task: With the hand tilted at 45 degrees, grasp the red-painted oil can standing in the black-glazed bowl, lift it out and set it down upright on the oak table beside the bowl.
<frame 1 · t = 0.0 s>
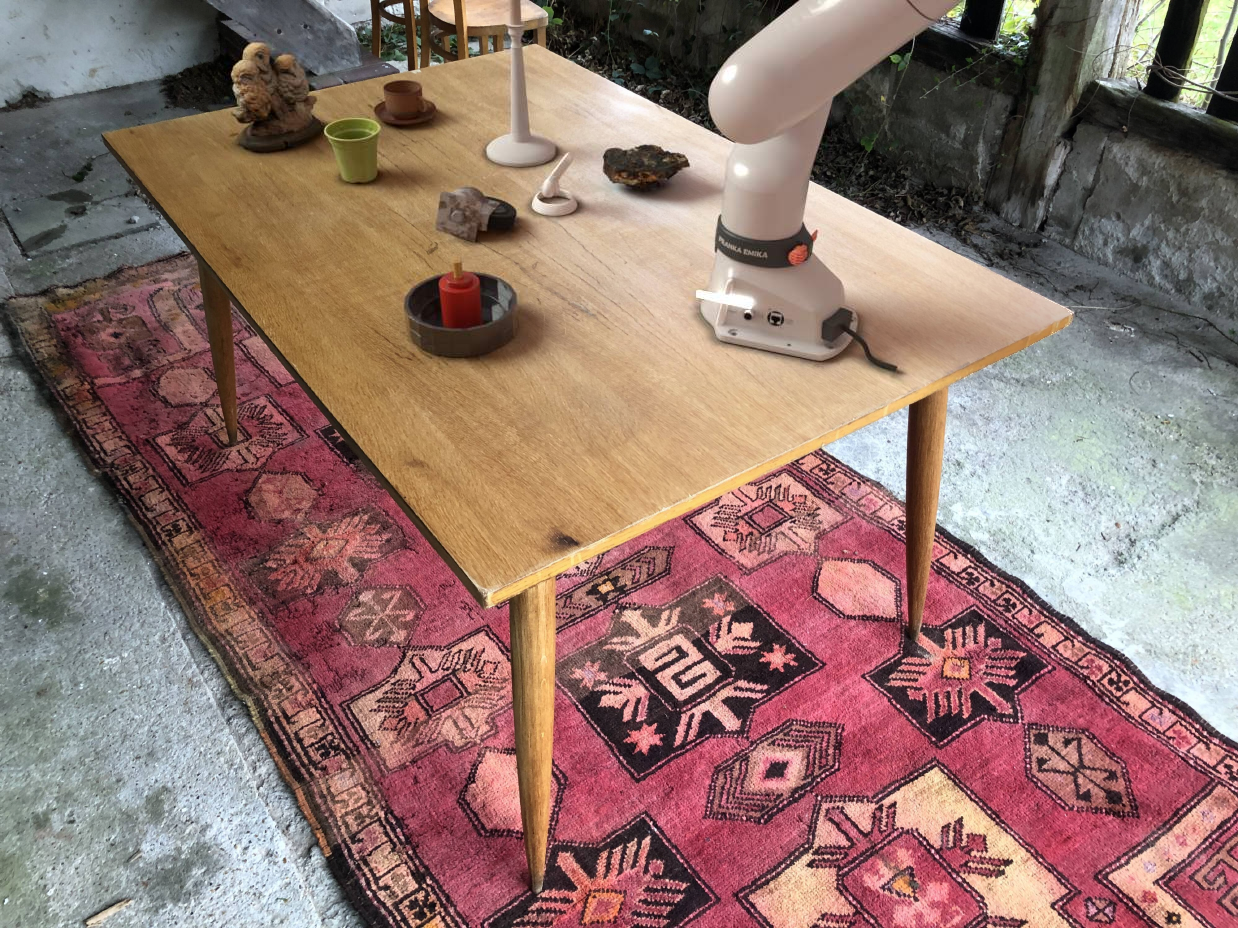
candlestick: (521, 153, 182), on the table
plant pot: (360, 177, 173), on the table
caster wheel: (480, 228, 159), on the table
hook: (554, 206, 166), on the table
owl figurine: (280, 138, 185), on the table
bowl: (463, 330, 136), on the table
fossil rock: (646, 184, 173), on the table
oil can: (463, 326, 136), point 1 cm above the table, touching bowl
cup and saucer: (406, 119, 193), on the table
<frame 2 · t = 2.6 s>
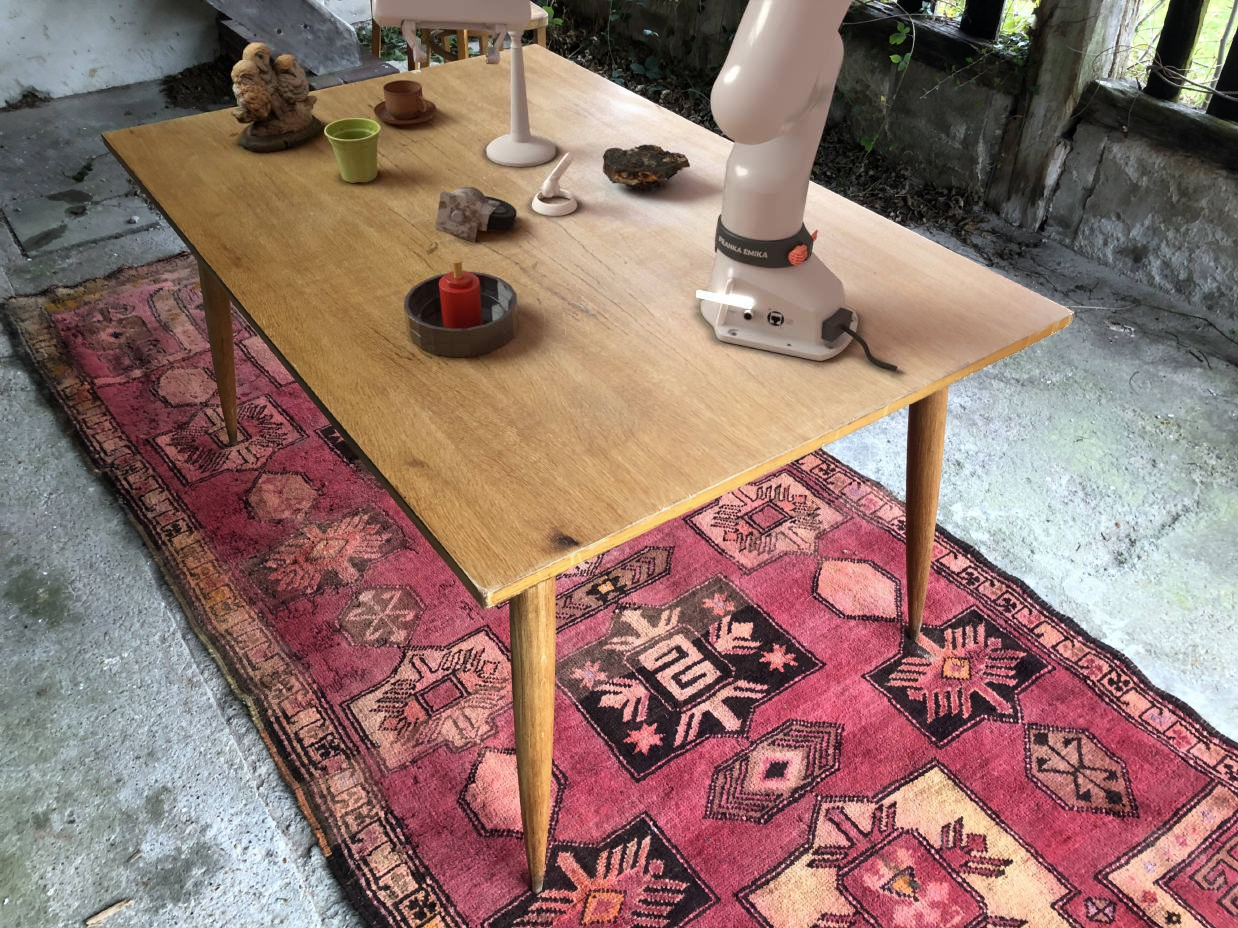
hand: (457, 62, 126), 32 cm above the table, tool tilted 35°, fingers open, 8 cm apart
nothing on the table moved.
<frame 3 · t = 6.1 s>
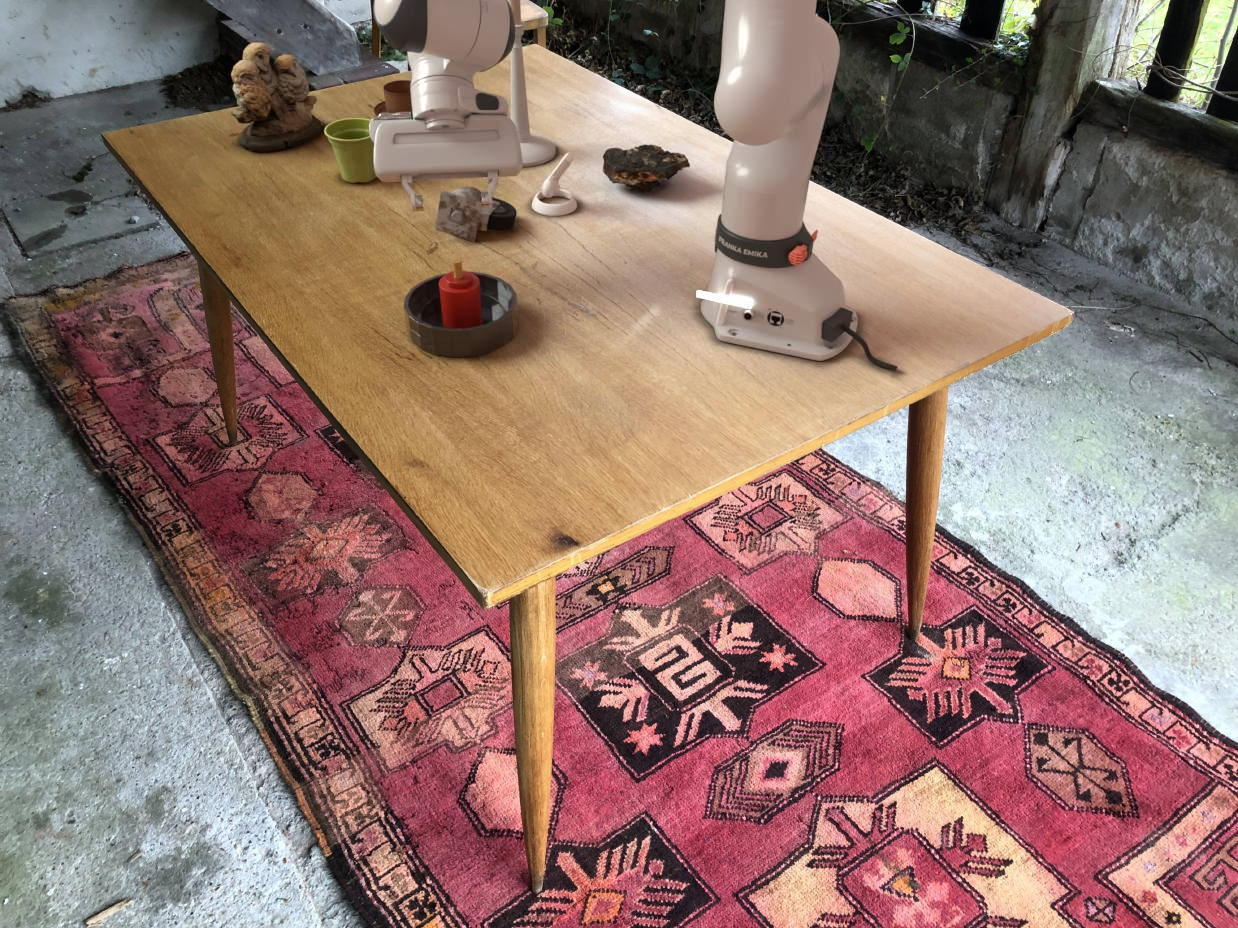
hand: (452, 208, 134), 14 cm above the table, tool tilted 45°, fingers open, 8 cm apart
nothing on the table moved.
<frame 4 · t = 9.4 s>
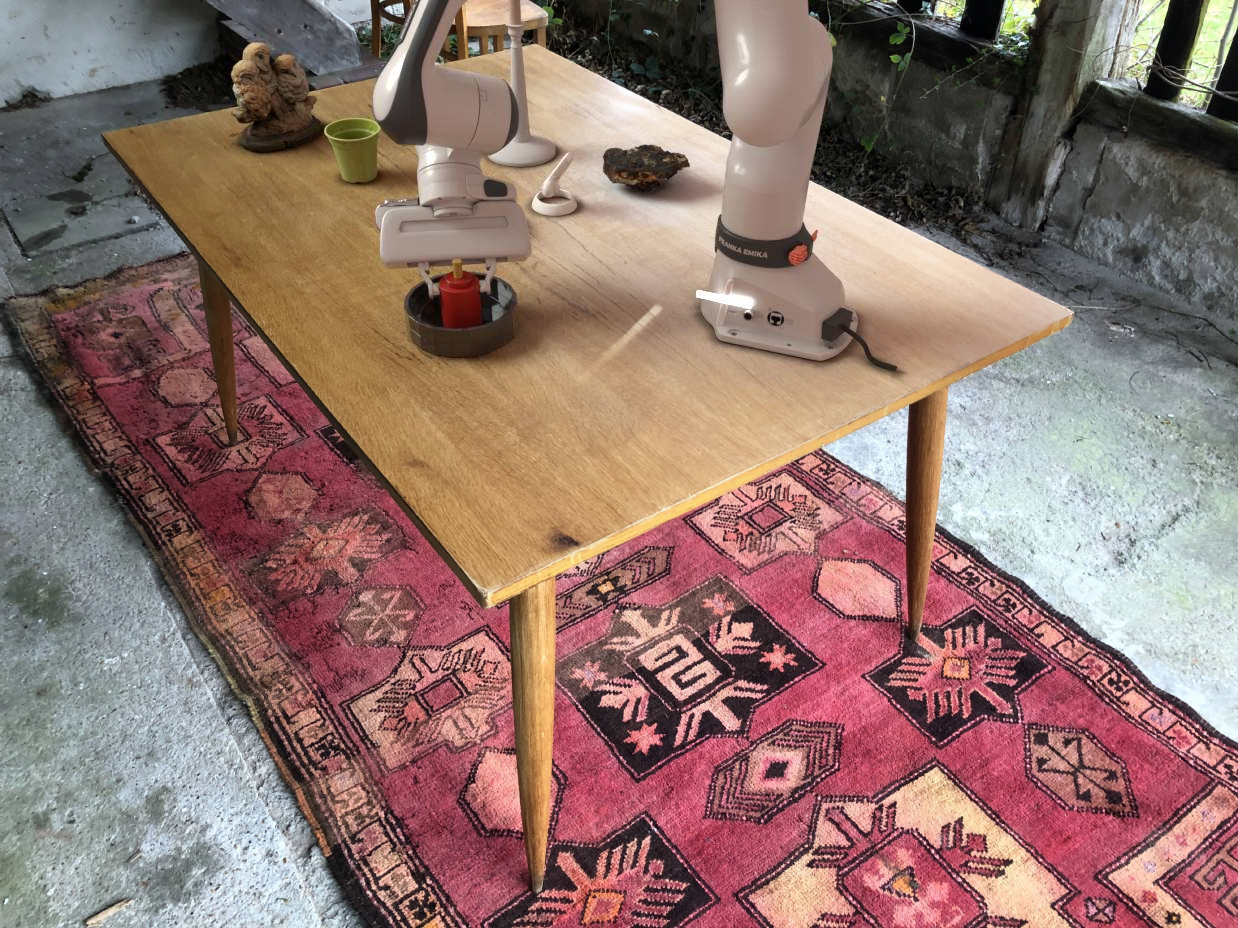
hand: (460, 296, 132), 6 cm above the table, tool tilted 45°, fingers closed on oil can, 5 cm apart
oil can: (463, 326, 136), point 1 cm above the table, touching bowl, gripper
everything else where it was.
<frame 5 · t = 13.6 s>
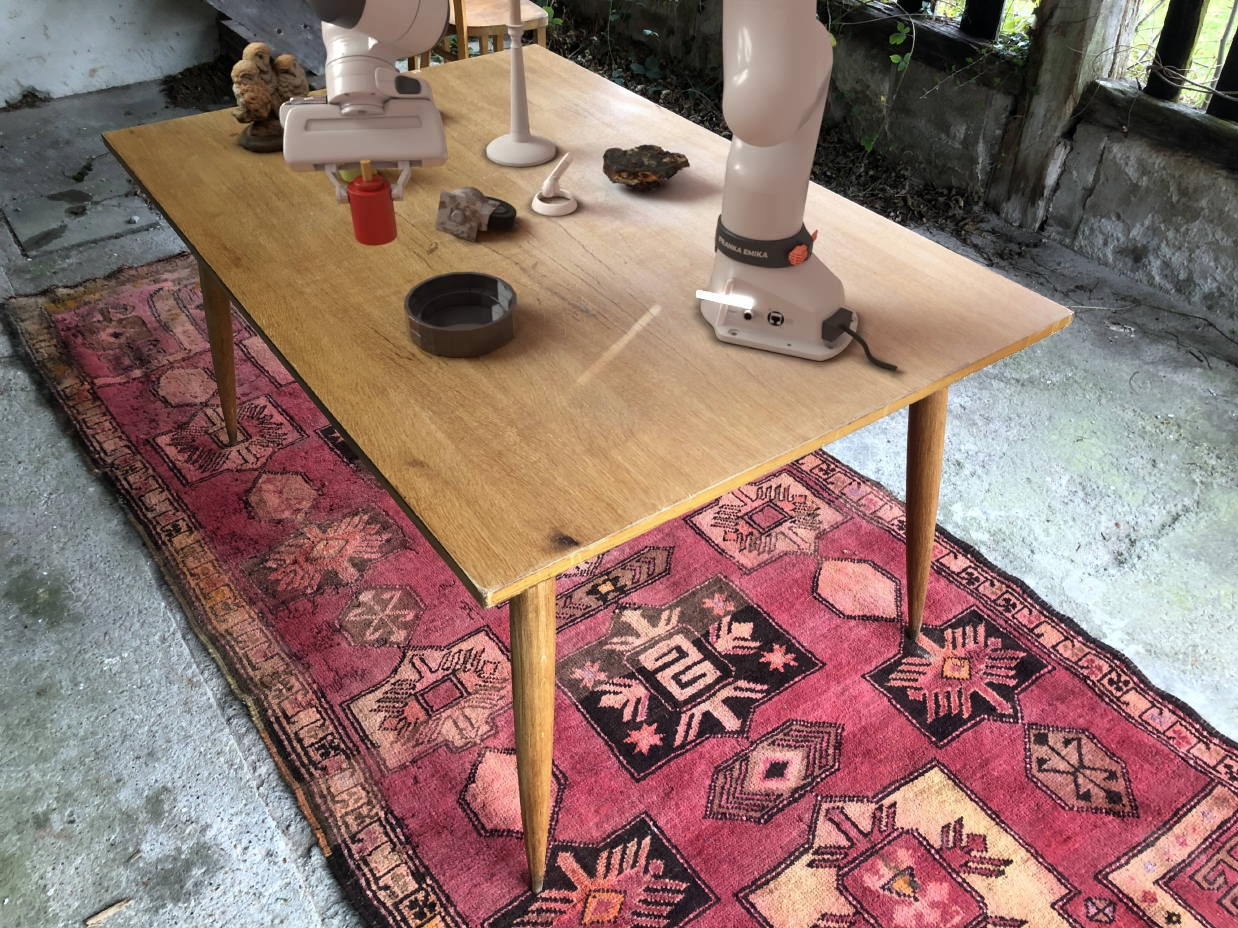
hand: (371, 201, 124), 19 cm above the table, tool tilted 45°, fingers closed on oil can, 5 cm apart
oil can: (376, 236, 127), point 14 cm above the table, touching gripper
everything else where it was.
when the fingers open (5 cm above the table, at t = 18.1 s): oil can stays where it is, on the table.
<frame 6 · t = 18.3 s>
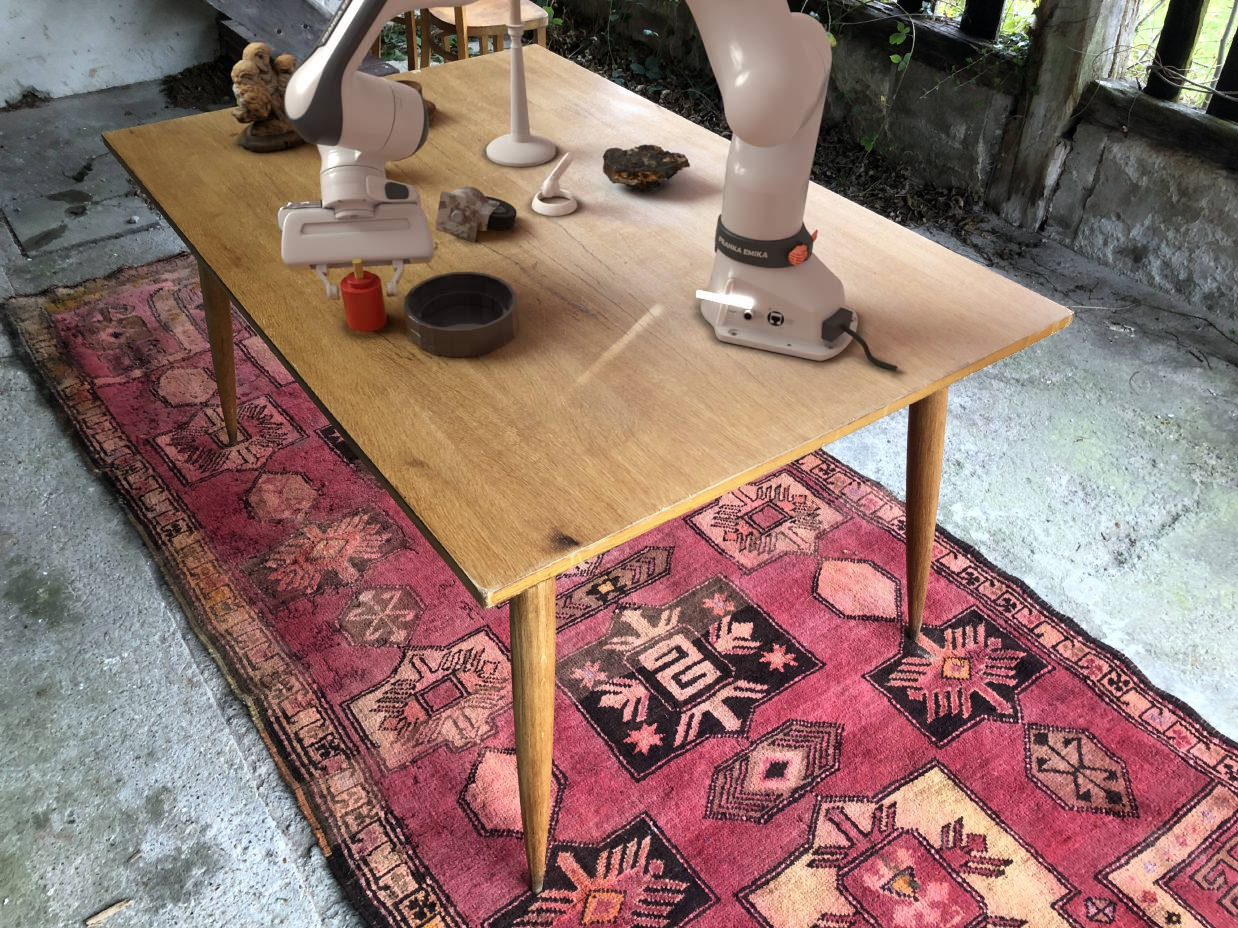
hand: (363, 297, 133), 5 cm above the table, tool tilted 45°, fingers open, 6 cm apart
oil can: (368, 325, 137), on the table
everything else where it was.
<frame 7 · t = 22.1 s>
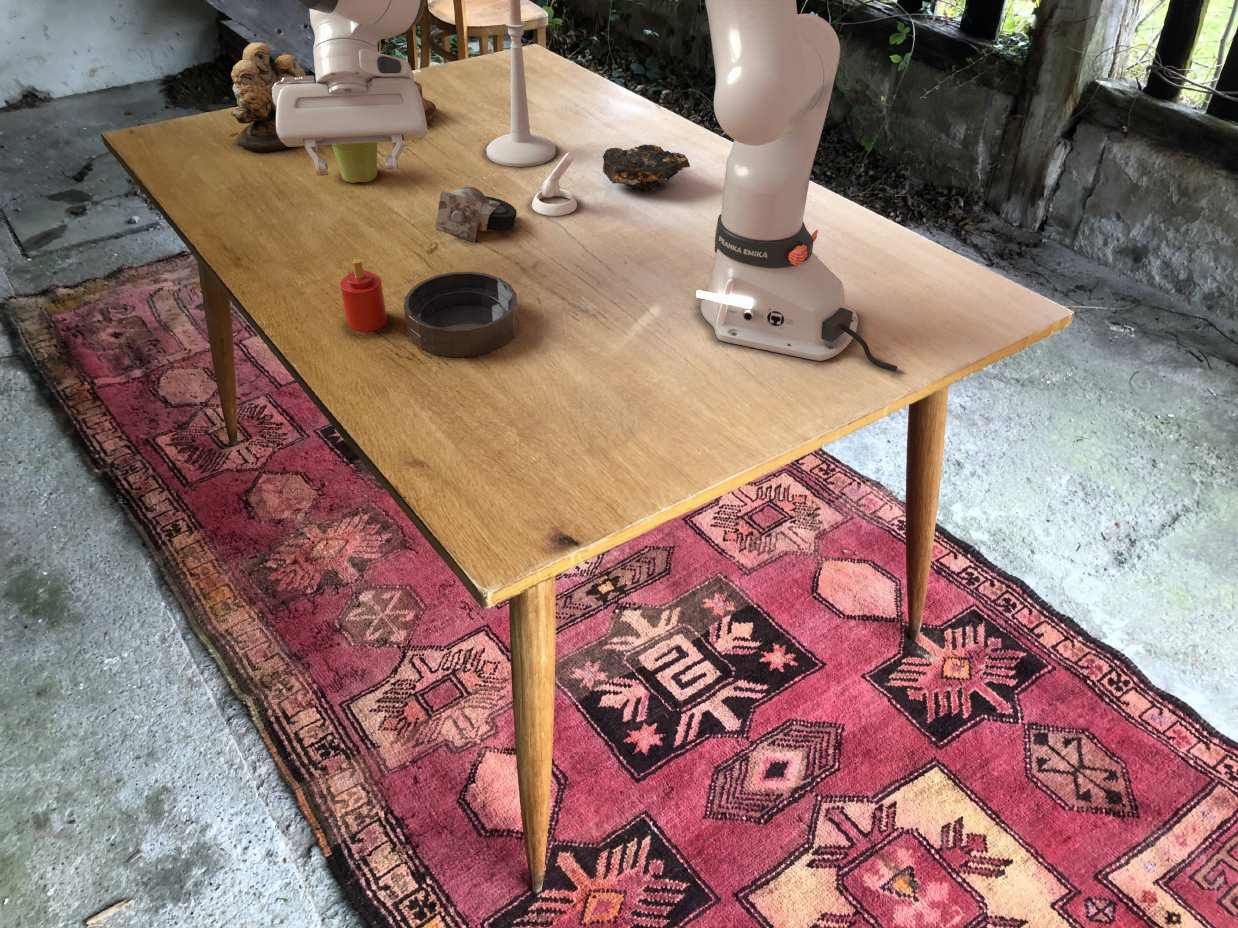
hand: (357, 172, 135), 17 cm above the table, tool tilted 45°, fingers open, 8 cm apart
nothing on the table moved.
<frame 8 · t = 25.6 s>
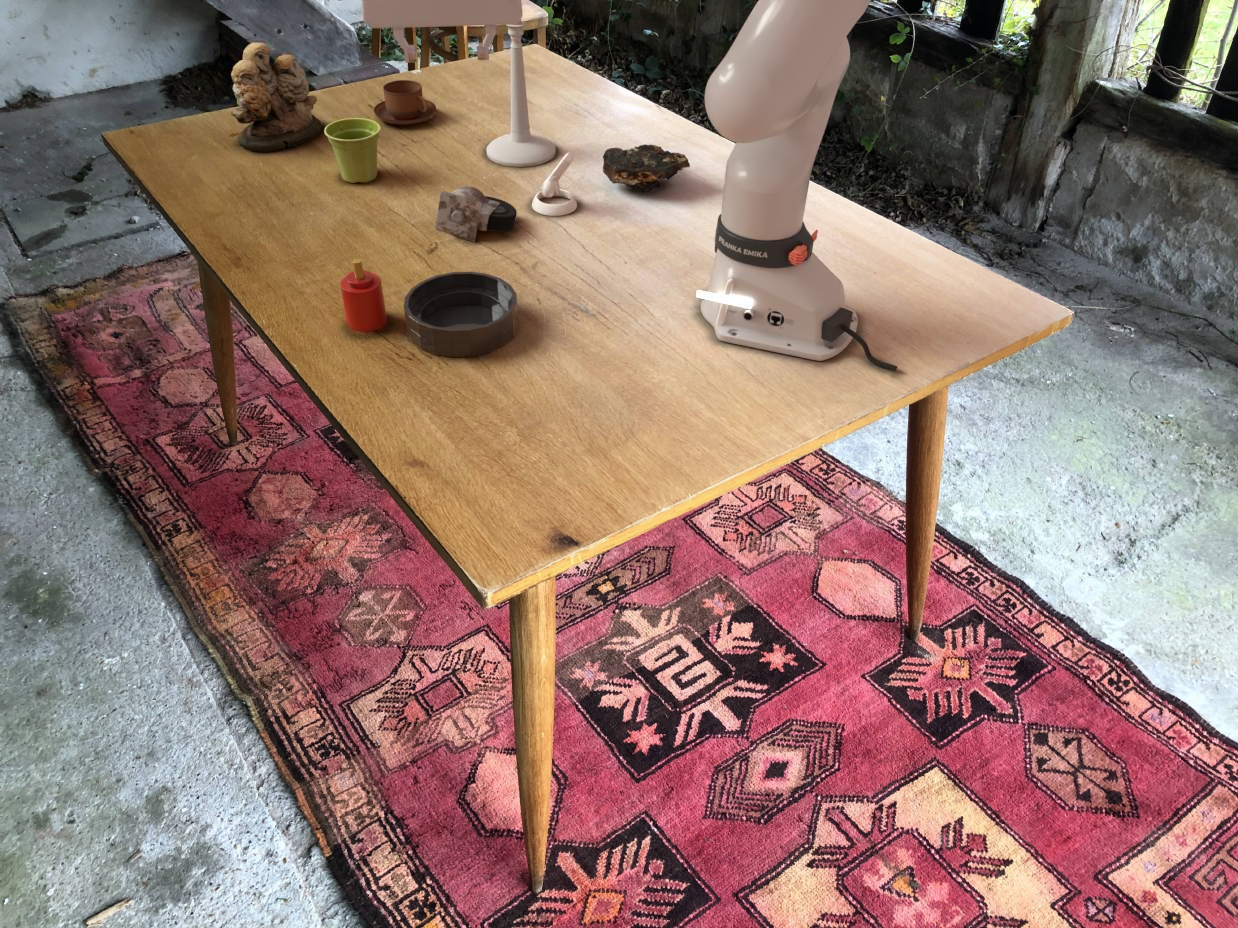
hand: (447, 60, 129), 31 cm above the table, tool pointing down, fingers open, 8 cm apart
nothing on the table moved.
at the end: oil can inside the target area (0.6 cm from its centre), on the table; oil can tilted 0°; the gripper is holding nothing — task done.
